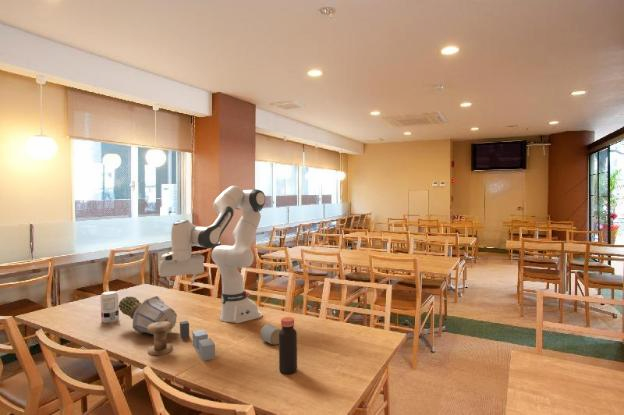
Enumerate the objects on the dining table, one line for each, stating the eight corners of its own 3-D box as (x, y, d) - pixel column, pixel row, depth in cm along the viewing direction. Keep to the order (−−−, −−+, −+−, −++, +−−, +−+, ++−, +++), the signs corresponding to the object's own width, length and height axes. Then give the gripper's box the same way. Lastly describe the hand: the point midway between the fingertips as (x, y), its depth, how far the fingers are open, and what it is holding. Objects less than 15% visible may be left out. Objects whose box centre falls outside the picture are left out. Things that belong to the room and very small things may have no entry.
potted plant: (183, 301, 187) (139, 281, 198) (155, 314, 171) (108, 291, 182) (179, 333, 191) (135, 311, 202) (151, 348, 174) (105, 324, 185)
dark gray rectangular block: (187, 335, 181) (187, 320, 181) (189, 337, 178) (188, 323, 178) (180, 336, 180) (179, 322, 179) (181, 339, 177) (181, 324, 176)
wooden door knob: (170, 343, 171) (170, 319, 171) (174, 352, 163) (173, 326, 162) (146, 348, 166) (145, 323, 166) (149, 357, 158) (148, 331, 157)
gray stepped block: (204, 342, 173) (203, 329, 173) (215, 358, 156) (214, 344, 156) (192, 344, 171) (192, 331, 170) (202, 361, 154) (202, 346, 154)
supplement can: (97, 322, 200) (96, 294, 199) (111, 317, 207) (110, 290, 206) (109, 324, 197) (108, 295, 196) (122, 319, 204) (121, 291, 203)
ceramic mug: (271, 347, 166) (271, 330, 166) (260, 342, 172) (260, 325, 172) (289, 341, 174) (289, 324, 174) (278, 336, 180) (278, 320, 179)
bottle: (297, 366, 149) (296, 316, 148) (297, 374, 142) (296, 322, 141) (279, 366, 149) (279, 316, 148) (278, 375, 142) (278, 322, 141)
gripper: (203, 252, 185) (203, 280, 186) (157, 255, 176) (158, 285, 177) (205, 254, 179) (205, 283, 180) (158, 257, 171) (159, 288, 171)
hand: (181, 284), depth 178 cm, fingers open, 8 cm apart
